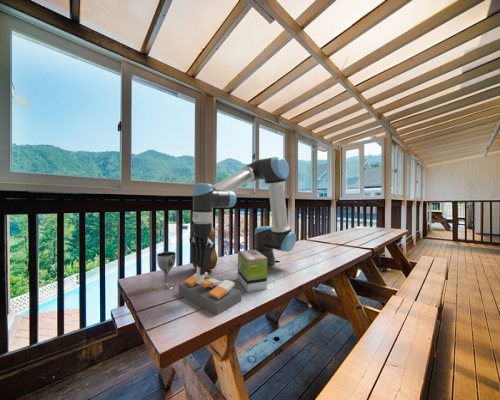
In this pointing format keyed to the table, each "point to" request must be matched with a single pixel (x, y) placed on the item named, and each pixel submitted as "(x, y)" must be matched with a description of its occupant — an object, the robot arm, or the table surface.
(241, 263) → the tea box
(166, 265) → the wine glass
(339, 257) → the table surface
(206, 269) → the butternut squash
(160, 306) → the table surface
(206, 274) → the switch
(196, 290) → the power strip
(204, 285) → the switch middle
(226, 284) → the switch
